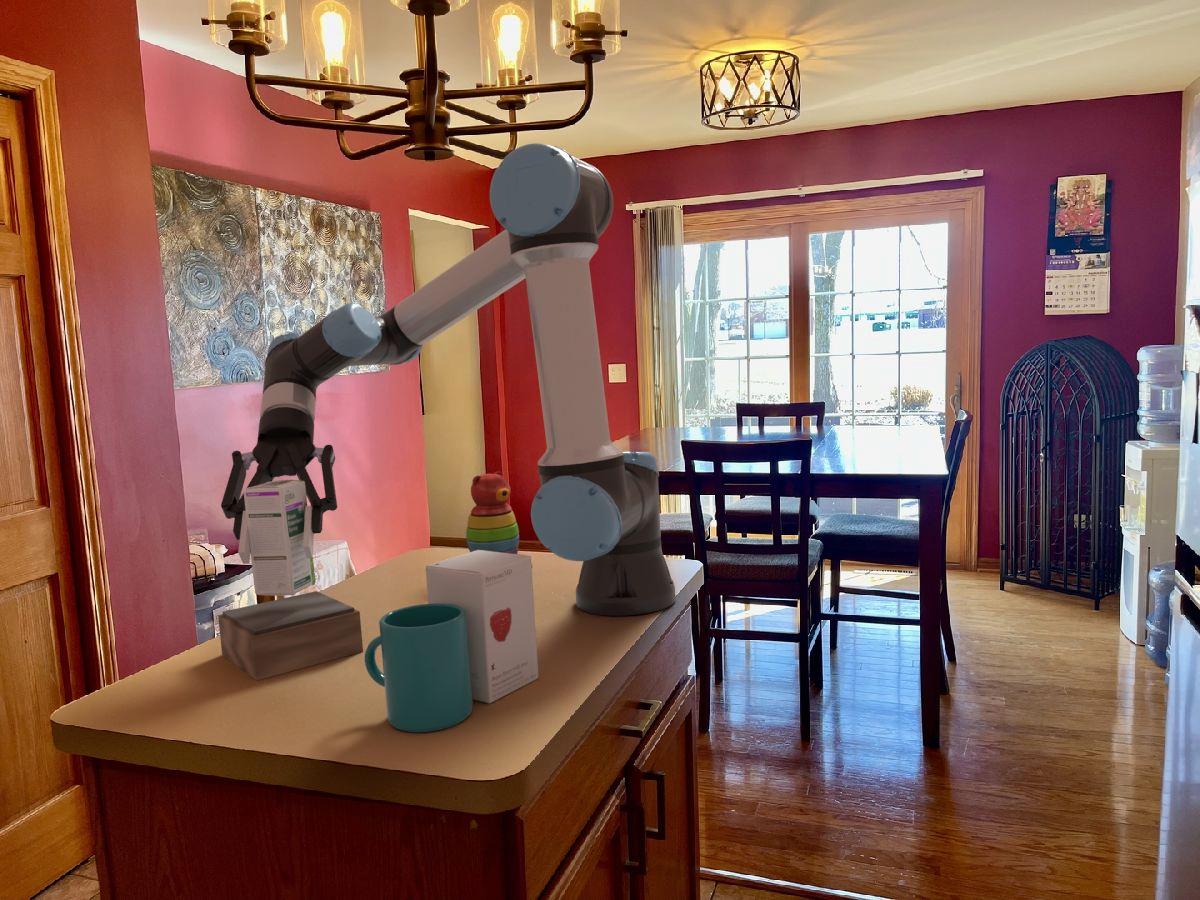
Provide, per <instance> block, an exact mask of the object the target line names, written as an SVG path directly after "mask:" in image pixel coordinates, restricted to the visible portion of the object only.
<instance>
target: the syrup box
mask: <svg viewBox="0 0 1200 900" xmlns="http://www.w3.org/2000/svg"><path fill="white" fill-rule="evenodd" d="M242 491H243V493H244V500H245V509H246V517H247V526H248V535H249V544H250V560H251V568H252V577H253V587H254V593H255V594H256V595H258V596H272V597H273V596H274V597H276V596H296V595H297V593H299V592H301V591H303V590H305V589H307V588H308V587H311V586H314V585H315V584H316V575H315V567H314V566H315V565H314V564H315V563H314V557H313V558H306V555H305V552H304V549H303V539H304V523H305V507H306V506H308V500H307V499H308V498H307V496H306V488H305V482H304V481H302V480H299V479H282V480H281V479H280V480H272V482H266V483H264V484H260V485H257V486H253V487H249V488H247V487H246V488H244V489H242Z"/></svg>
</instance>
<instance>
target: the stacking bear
mask: <svg viewBox="0 0 1200 900" xmlns="http://www.w3.org/2000/svg"><path fill="white" fill-rule="evenodd" d="M511 491H512V490H511V485H510V484H509V482H508V481H507V479H505V478H504V477H503V474H502V472H501V471H495V472H493V473H484V474H481V475H476V476H474V477H473V478H472V484H471V487H470V495H471V498H472V500H473V502H474V503H475V506H474V507H473V508H472V509H471V510H470V513H469V515H468V517H467V527H466V532H465V533H466V535H465V536H466V537H465V538H466V544H467V548H468V551H469V552H473V551H476V550H485V551H493V552H500V553H509V554H519V544H520V534H519V533H520V530H519V526H518V523H517V519H516V515H515V513H514V511H513V507H512V506H511V505H510V504H509V503H507V502H508V500H509V498H510V496H511V494H512V493H511Z"/></svg>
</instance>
